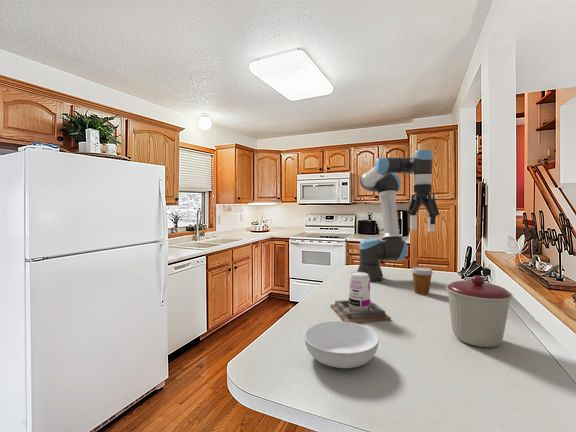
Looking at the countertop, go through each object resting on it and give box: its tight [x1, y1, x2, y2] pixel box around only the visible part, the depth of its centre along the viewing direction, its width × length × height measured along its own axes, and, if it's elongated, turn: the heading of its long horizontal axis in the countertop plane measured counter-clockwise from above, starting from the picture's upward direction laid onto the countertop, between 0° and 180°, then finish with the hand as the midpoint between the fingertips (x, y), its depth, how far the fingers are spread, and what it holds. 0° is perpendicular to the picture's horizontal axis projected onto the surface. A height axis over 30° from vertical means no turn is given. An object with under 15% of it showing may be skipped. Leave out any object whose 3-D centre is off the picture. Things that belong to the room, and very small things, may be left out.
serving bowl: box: [303, 320, 380, 369], centre depth 86 cm, size 21×21×7 cm
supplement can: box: [348, 271, 371, 312], centre depth 121 cm, size 8×8×15 cm
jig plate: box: [330, 299, 392, 324], centre depth 121 cm, size 18×18×3 cm
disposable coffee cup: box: [411, 266, 433, 296], centre depth 147 cm, size 10×10×12 cm
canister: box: [445, 275, 514, 348], centre depth 97 cm, size 18×18×21 cm
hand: (421, 230), depth 138 cm, fingers open, 13 cm apart
